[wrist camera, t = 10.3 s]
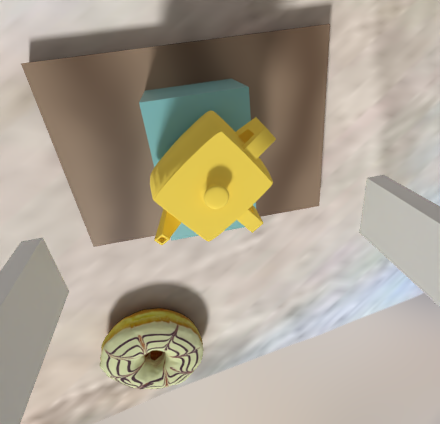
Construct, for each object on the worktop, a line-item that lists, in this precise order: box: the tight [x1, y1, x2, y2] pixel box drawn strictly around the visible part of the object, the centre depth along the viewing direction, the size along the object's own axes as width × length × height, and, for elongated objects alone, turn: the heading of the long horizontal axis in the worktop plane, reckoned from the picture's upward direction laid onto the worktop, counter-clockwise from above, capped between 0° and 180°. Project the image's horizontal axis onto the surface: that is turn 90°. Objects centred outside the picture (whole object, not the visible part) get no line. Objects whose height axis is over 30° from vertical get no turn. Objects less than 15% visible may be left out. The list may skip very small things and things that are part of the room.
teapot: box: [150, 111, 276, 245], centre depth 16 cm, size 8×6×5 cm
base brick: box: [139, 79, 256, 240], centre depth 21 cm, size 6×9×5 cm, turn 6°
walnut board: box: [21, 24, 330, 247], centre depth 23 cm, size 20×14×1 cm
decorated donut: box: [100, 308, 203, 389], centre depth 32 cm, size 10×11×4 cm
